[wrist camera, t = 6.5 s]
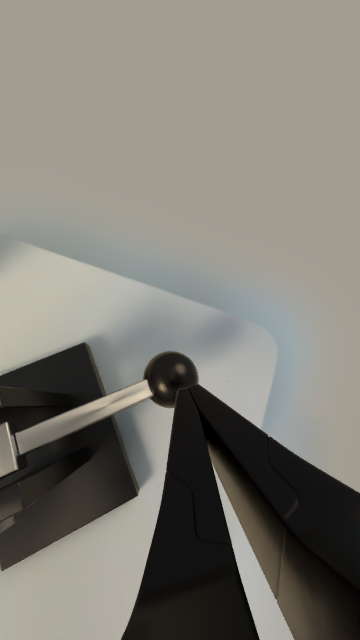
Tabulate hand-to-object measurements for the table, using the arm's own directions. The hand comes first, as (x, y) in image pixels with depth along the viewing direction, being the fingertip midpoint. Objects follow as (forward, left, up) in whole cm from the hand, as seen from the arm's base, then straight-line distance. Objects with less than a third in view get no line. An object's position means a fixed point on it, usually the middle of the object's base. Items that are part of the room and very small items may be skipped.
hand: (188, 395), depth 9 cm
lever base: (+1, +9, -11) cm, 15 cm away
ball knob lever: (+1, +5, -7) cm, 9 cm away
